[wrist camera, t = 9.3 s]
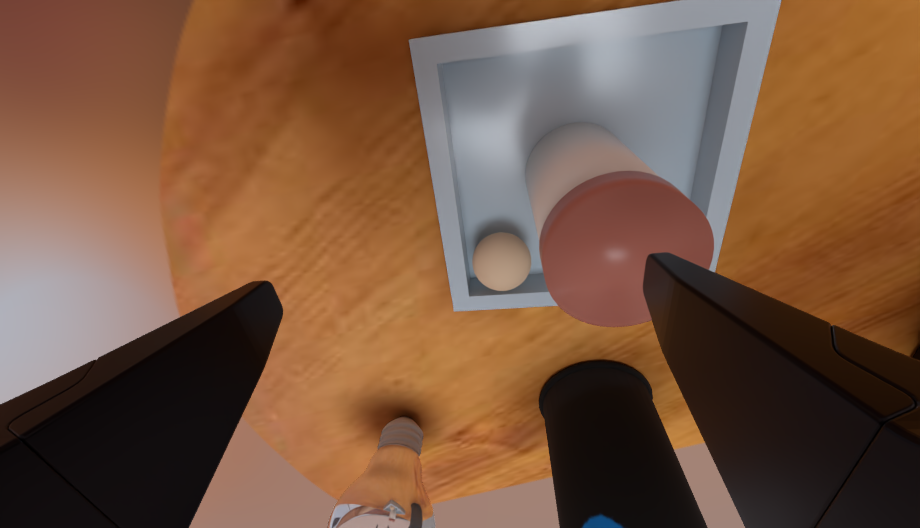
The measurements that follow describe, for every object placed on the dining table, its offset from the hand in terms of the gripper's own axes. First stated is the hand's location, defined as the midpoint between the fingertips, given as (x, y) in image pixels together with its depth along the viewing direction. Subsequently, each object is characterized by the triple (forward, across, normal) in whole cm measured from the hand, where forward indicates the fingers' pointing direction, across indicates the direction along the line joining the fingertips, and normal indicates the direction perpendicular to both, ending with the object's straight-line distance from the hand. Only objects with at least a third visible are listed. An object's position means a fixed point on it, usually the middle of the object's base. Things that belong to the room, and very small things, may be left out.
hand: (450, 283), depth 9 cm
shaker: (+12, -5, +2) cm, 14 cm away
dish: (+13, -5, +2) cm, 14 cm away
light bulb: (+13, +8, +22) cm, 27 cm away
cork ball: (+12, -1, +6) cm, 14 cm away
